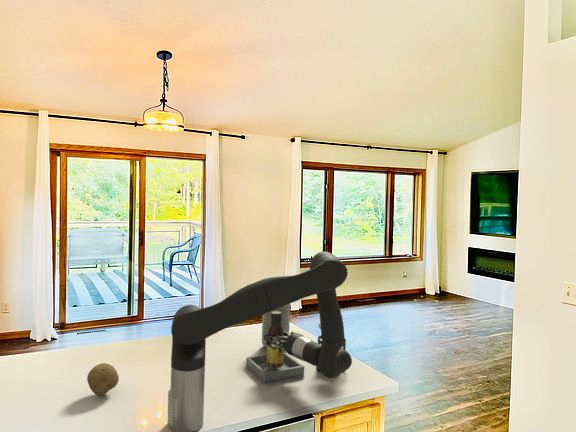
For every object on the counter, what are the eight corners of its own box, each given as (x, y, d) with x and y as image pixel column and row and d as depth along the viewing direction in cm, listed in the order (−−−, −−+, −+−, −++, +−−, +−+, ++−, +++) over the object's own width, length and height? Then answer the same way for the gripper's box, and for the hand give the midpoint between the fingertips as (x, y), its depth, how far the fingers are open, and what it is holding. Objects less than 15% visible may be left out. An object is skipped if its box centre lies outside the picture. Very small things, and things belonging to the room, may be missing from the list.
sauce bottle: (281, 369, 151) (282, 315, 150) (264, 368, 152) (265, 314, 151) (285, 362, 157) (286, 310, 157) (269, 361, 159) (270, 309, 158)
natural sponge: (109, 385, 139) (110, 356, 138) (123, 394, 133) (124, 363, 132) (82, 395, 132) (82, 364, 131) (95, 404, 126) (96, 372, 125)
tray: (264, 383, 144) (264, 374, 144) (246, 366, 158) (246, 357, 158) (303, 375, 152) (304, 366, 152) (283, 359, 166) (283, 351, 166)
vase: (257, 350, 175) (259, 296, 174) (266, 341, 186) (268, 290, 185) (283, 354, 172) (285, 299, 170) (291, 345, 183) (293, 293, 182)
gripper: (316, 333, 148) (287, 321, 161) (285, 340, 139) (256, 327, 152) (316, 354, 148) (286, 340, 161) (284, 363, 139) (255, 348, 152)
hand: (272, 334), depth 156 cm, fingers closed on sauce bottle, 6 cm apart
